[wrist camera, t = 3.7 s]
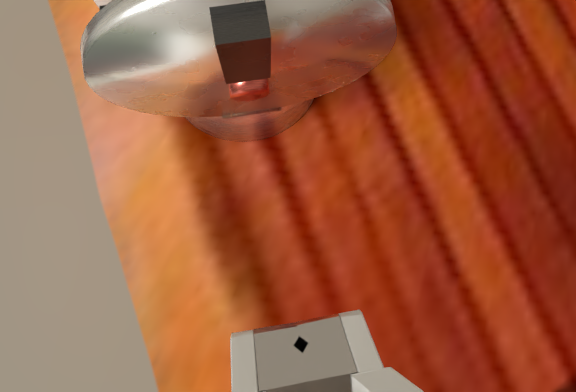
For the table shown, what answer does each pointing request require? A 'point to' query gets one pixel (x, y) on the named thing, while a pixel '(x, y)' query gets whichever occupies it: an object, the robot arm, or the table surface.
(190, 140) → the table surface
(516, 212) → the table surface
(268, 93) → the lid
